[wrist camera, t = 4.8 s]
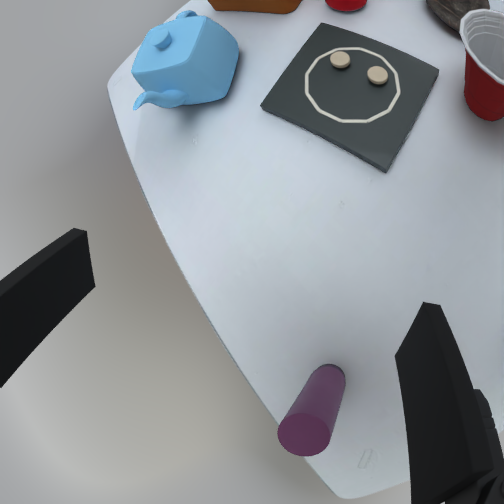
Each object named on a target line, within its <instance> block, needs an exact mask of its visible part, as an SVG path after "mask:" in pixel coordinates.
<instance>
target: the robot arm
mask: <svg viewBox="0 0 504 504" xmlns="http://www.w3.org/2000/svg"><path fill="white" fill-rule="evenodd" d="M94 287H95V283H94V276H93V271H92V265H91V258H90V252H89V245H88V237H87V231H84V230H80V229H76V228H73V229H71V230H70V231H69V232H67V233H66V234H64V235H63V236H61V237H59V238H58V239H57V240H55V241H54V242H52V243H51V244H49V245H48V246H46V247H45V248H43V249H42V250H41V251H39V252H38V253H36V254H35V255H34V256H32V257H31V258H29V259H28V260H27V261H25V262H24V263H23V264H22V265H20V266H19V267H17V268H16V269H15V270H13V271H12V272H11V273H10V274H8V275H7V276H6V277H5V278H3V279H2V280H1V281H0V388H2V386H3V385H4V384H5V383H6V382H7V380H8V379H9V378H10V377H11V376H12V374H13V373H14V372H15V371H16V370H17V368H18V367H19V366H20V365H21V364H22V363H23V361H25V359H26V358H27V357H28V356H29V355H30V354H31V353H32V352H33V351H34V349H35V348H36V347H37V346H38V345H39V344H40V343H41V342H42V341H43V339H44V338H45V337H46V336H47V335H48V334H49V333H50V332H51V331H52V330H53V329H54V328H55V327H56V326H57V325H58V324H59V323H60V321H62V319H63V318H64V317H65V316H66V315H67V314H68V313H69V312H70V311H71V310H72V309H73V308H74V307H75V306H76V305H77V304H78V303H79V302H80V301H81V300H82V299H83V298H84V297H85V296H86V295H87V294H88V293H89V292H90V291H91V290H92V289H93V288H94ZM395 360H396V365H397V370H398V376H399V382H400V388H401V395H402V401H403V408H404V416H405V424H406V432H407V441H408V452H409V464H410V480H411V504H441V503H442V502H444V501H445V504H504V458H503V453H502V449H501V445H500V441H499V438H498V433H497V430H496V428H495V423H494V419H493V418H492V413H491V410H490V406H489V403H488V401H487V399H486V398H485V397H484V395H483V394H482V392H481V391H480V389H473V386H472V383H471V380H470V377H469V375H468V372H467V369H466V366H465V364H464V361H463V358H462V356H461V353H460V350H459V348H458V345H457V343H456V340H455V338H454V336H453V333H452V331H451V329H450V326H449V324H448V322H447V319H446V317H445V315H444V313H443V310H442V308H441V306H440V305H437V304H432V303H426V302H423V303H422V305H421V307H420V309H419V312H418V314H417V316H416V318H415V319H414V321H413V323H412V325H411V327H410V329H409V331H408V333H407V335H406V337H405V338H404V340H403V342H402V344H401V346H400V347H399V349H398V351H397V353H396V354H395Z"/></svg>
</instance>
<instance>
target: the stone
mask: <svg viewBox="0 0 504 504" xmlns="http://www.w3.org/2000/svg"><path fill="white" fill-rule="evenodd" d="M426 2H427V3H428V5H429V6H430V8H431V9H432V10H433V11H434V13H435V14H436V15H437V16H438V17H439V18H440V19H441V20H442V21H443V22H445V23H446V24H447V25H448V26H450V27H451V28H453V29H454V30H456V31H458V32H460V24H461V19H462V18H463V17H464V16H465V15H466V14H467V13H468V12H469V11H473V10H478V9H488V10H490V5H489V2H488V0H426Z"/></svg>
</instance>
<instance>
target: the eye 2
mask: <svg viewBox="0 0 504 504" xmlns="http://www.w3.org/2000/svg"><path fill="white" fill-rule="evenodd" d="M368 78H369V80H370V81H371V82H373V83H375V84H383V83H385V82H386V81H387V79H388V73H387V71H386V70H385V69H384V68H382V67H379V66H374V67H371V68H370V69H369V70H368Z"/></svg>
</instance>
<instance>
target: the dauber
mask: <svg viewBox="0 0 504 504" xmlns="http://www.w3.org/2000/svg"><path fill="white" fill-rule="evenodd" d="M344 389H345V376H344V373H343V371H342V370H341V369H340V368H339V367H338V366H336V365H332V364H325V365H322V366H320V367H319V368H318V369H317V370H315V371H314V372H313V373H312V374H311V376H310V377H309V379H308V381H307V382H306V384H305V386H304V387H303V389H302V391H301V392H300V394H299V395H298V397H297V399H296V400H295V402H294V403H293V405H292V406H291V408H290V410H289V411H288V413H287V414H286V416H285V417H284V419H283V420H282V422H281V423H280V425H279V427H278V439H279V441H280V443H281V445H282V446H283V447H284V448H285V449H286V450H287V451H289V452H290V453H293V454H295V455H299V456H313V455H316V454H319V453H320V452H322V451H323V450H324V449H325V448H326V447H327V446H328V444H329V442H330V439H331V436H332V432H333V429H334V426H335V422H336V419H337V415H338V411H339V408H340V404H341V400H342V397H343V393H344Z"/></svg>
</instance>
